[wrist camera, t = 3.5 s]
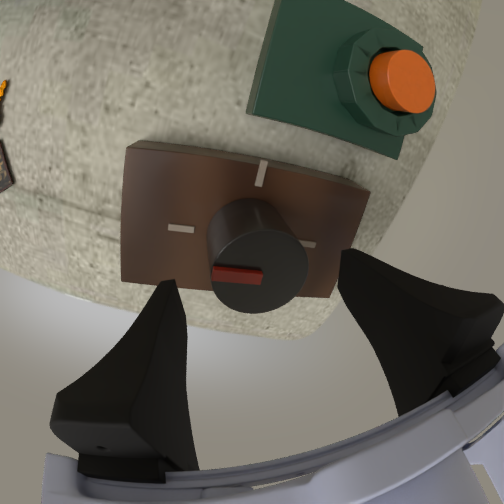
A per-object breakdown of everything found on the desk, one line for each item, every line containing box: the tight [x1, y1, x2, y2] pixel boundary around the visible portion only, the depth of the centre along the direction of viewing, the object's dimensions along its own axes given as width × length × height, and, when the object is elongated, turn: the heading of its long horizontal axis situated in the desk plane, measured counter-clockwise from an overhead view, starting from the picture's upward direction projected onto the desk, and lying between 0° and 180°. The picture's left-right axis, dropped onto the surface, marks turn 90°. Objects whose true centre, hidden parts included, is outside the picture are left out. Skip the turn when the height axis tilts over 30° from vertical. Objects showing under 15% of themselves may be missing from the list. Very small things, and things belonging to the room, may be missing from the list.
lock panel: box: [121, 140, 370, 298], centre depth 17 cm, size 14×9×3 cm, turn 77°
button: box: [369, 50, 435, 113], centre depth 11 cm, size 4×4×2 cm
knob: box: [207, 198, 309, 314], centre depth 14 cm, size 4×4×4 cm
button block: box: [246, 0, 436, 160], centre depth 13 cm, size 10×9×4 cm
